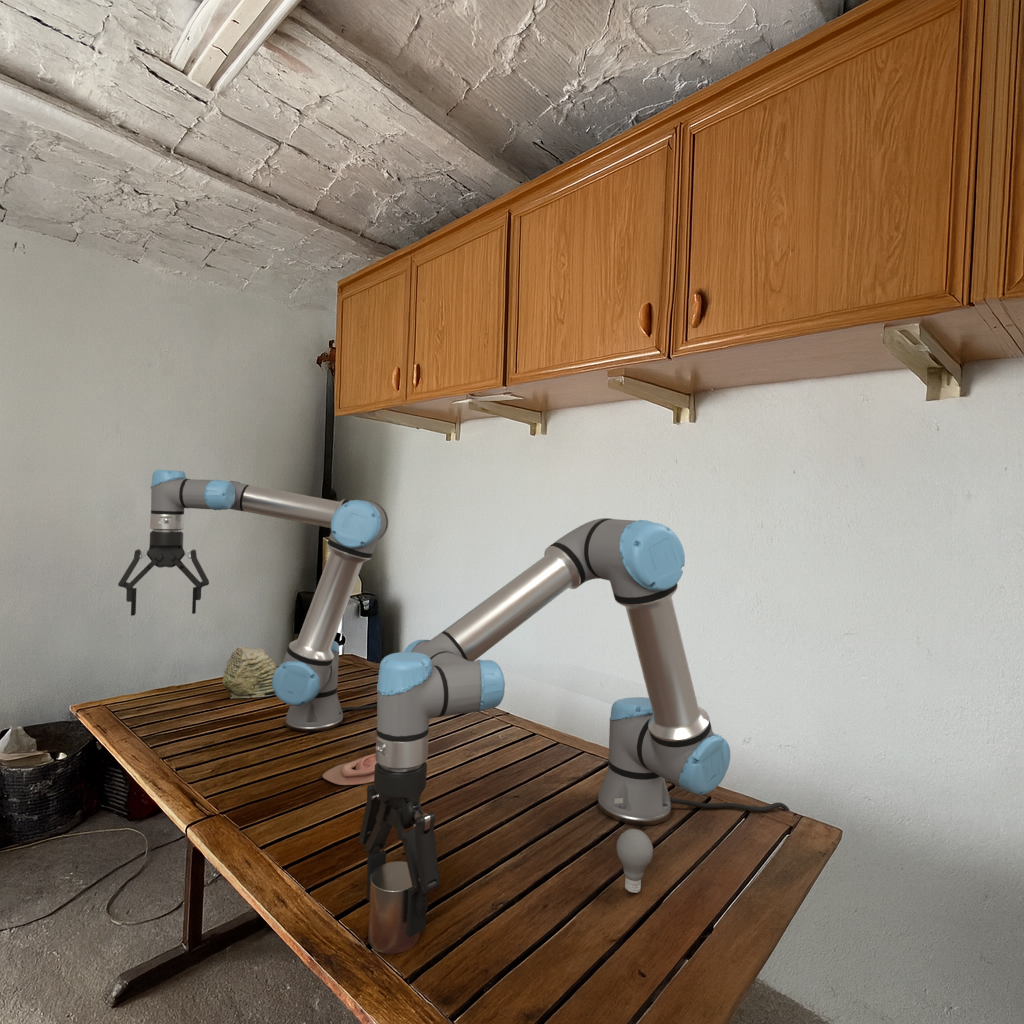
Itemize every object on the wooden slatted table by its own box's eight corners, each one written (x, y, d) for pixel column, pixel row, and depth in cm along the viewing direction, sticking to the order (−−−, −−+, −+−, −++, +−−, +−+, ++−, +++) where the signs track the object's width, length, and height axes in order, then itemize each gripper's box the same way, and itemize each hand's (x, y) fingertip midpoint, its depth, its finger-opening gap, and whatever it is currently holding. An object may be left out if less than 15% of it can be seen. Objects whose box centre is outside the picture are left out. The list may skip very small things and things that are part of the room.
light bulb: (610, 879, 108) (613, 822, 108) (644, 879, 109) (647, 822, 109) (619, 902, 102) (622, 840, 102) (655, 901, 103) (658, 840, 103)
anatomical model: (316, 763, 140) (340, 744, 151) (315, 781, 140) (339, 761, 151) (372, 771, 137) (392, 751, 149) (371, 789, 138) (391, 768, 149)
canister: (381, 915, 97) (383, 857, 97) (426, 924, 95) (429, 865, 95) (359, 948, 90) (361, 885, 90) (408, 958, 88) (410, 895, 88)
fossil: (218, 695, 195) (220, 647, 195) (278, 685, 208) (279, 640, 207) (228, 703, 189) (230, 653, 188) (289, 692, 201) (290, 645, 201)
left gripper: (106, 530, 153) (104, 618, 153) (220, 532, 163) (217, 614, 163) (111, 528, 159) (109, 612, 160) (220, 530, 170) (218, 609, 170)
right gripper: (339, 744, 97) (333, 887, 98) (426, 797, 81) (419, 968, 82) (380, 733, 103) (375, 869, 103) (471, 781, 87) (464, 942, 87)
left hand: (164, 613), depth 162 cm, fingers open, 13 cm apart
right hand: (394, 913), depth 92 cm, fingers open, 10 cm apart
